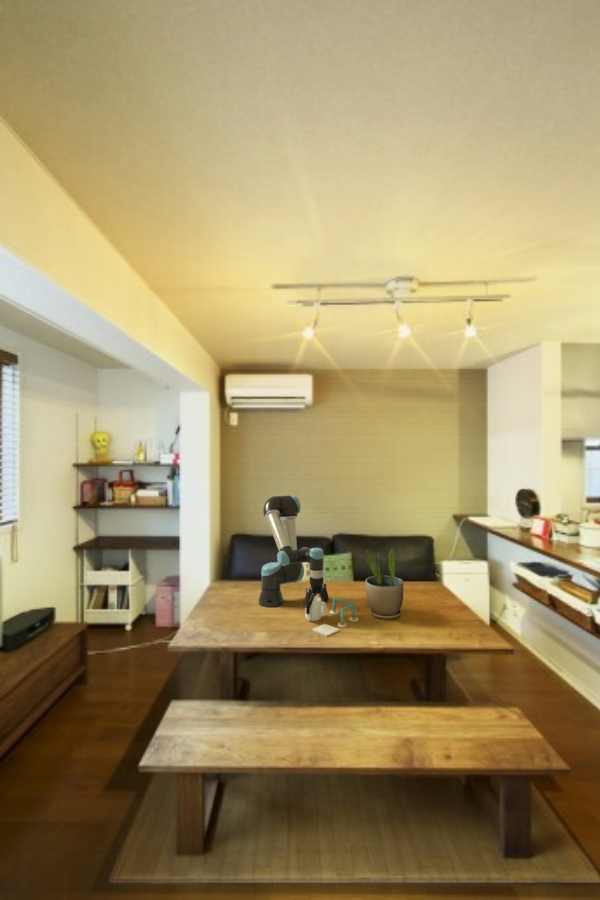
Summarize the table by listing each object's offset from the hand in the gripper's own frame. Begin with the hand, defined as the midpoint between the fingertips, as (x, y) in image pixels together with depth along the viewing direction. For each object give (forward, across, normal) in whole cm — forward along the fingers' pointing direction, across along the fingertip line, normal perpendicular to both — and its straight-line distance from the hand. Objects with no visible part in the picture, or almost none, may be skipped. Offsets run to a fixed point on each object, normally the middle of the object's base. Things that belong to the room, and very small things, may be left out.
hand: (316, 616), depth 224 cm
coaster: (+1, -8, -14) cm, 16 cm away
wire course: (+1, +8, -9) cm, 12 cm away
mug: (+1, 0, 0) cm, 1 cm away
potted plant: (+1, +32, -23) cm, 39 cm away
